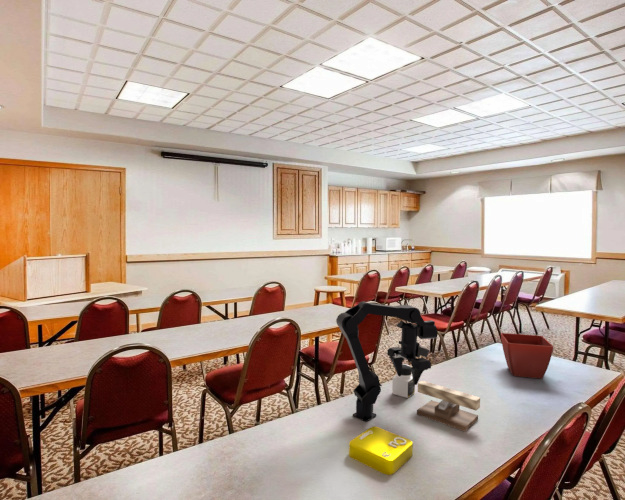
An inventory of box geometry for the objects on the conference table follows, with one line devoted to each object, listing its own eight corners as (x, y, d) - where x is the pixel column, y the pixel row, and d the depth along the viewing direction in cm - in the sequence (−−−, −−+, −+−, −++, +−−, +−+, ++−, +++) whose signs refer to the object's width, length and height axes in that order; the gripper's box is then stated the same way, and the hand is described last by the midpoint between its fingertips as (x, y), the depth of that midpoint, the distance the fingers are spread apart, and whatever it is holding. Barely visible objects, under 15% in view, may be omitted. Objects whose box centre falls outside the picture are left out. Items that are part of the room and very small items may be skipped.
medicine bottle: (408, 398, 156) (408, 369, 155) (391, 394, 160) (392, 365, 159) (414, 392, 161) (415, 364, 161) (399, 388, 166) (399, 361, 165)
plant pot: (506, 377, 180) (507, 342, 179) (499, 364, 198) (500, 332, 197) (552, 382, 174) (554, 346, 173) (540, 368, 192) (542, 335, 192)
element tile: (373, 437, 126) (373, 423, 126) (415, 455, 116) (415, 439, 116) (346, 456, 115) (346, 441, 115) (390, 478, 105) (390, 461, 105)
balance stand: (465, 431, 130) (465, 412, 130) (416, 414, 142) (417, 396, 142) (478, 419, 139) (478, 401, 138) (431, 403, 151) (431, 387, 151)
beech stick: (479, 407, 134) (480, 397, 134) (476, 410, 131) (476, 400, 131) (421, 389, 149) (422, 380, 149) (417, 392, 146) (417, 383, 146)
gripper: (443, 344, 138) (441, 386, 139) (409, 331, 155) (408, 369, 156) (419, 346, 133) (417, 390, 134) (387, 333, 150) (385, 372, 151)
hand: (407, 380), depth 144 cm, fingers open, 9 cm apart
